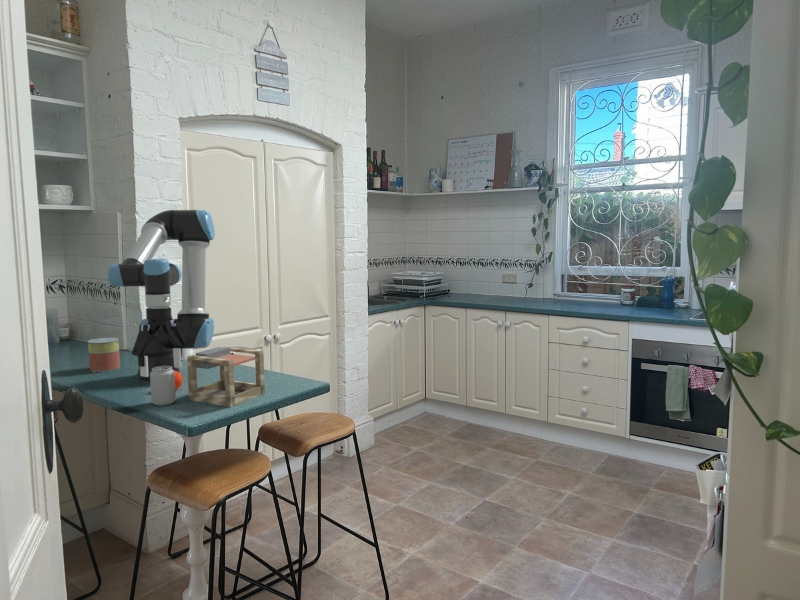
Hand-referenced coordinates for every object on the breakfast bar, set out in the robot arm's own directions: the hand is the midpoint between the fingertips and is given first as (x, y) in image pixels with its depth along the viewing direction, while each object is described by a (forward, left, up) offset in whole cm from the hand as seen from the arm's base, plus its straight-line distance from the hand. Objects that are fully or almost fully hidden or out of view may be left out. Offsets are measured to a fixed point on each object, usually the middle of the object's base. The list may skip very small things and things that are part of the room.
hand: (161, 371), depth 192 cm
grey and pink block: (+14, +15, 0) cm, 20 cm away
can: (0, 0, -11) cm, 11 cm away
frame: (+14, +15, -11) cm, 23 cm away
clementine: (-10, +13, -11) cm, 20 cm away
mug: (-44, +52, -11) cm, 69 cm away
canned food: (-59, +24, -11) cm, 64 cm away
